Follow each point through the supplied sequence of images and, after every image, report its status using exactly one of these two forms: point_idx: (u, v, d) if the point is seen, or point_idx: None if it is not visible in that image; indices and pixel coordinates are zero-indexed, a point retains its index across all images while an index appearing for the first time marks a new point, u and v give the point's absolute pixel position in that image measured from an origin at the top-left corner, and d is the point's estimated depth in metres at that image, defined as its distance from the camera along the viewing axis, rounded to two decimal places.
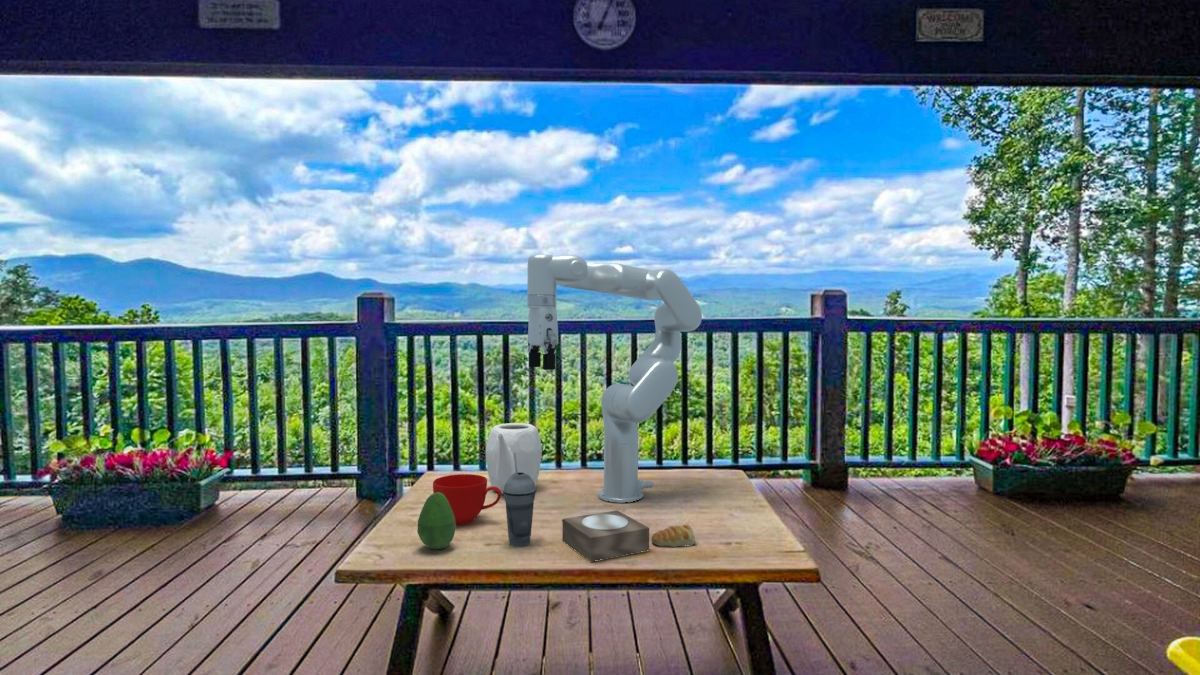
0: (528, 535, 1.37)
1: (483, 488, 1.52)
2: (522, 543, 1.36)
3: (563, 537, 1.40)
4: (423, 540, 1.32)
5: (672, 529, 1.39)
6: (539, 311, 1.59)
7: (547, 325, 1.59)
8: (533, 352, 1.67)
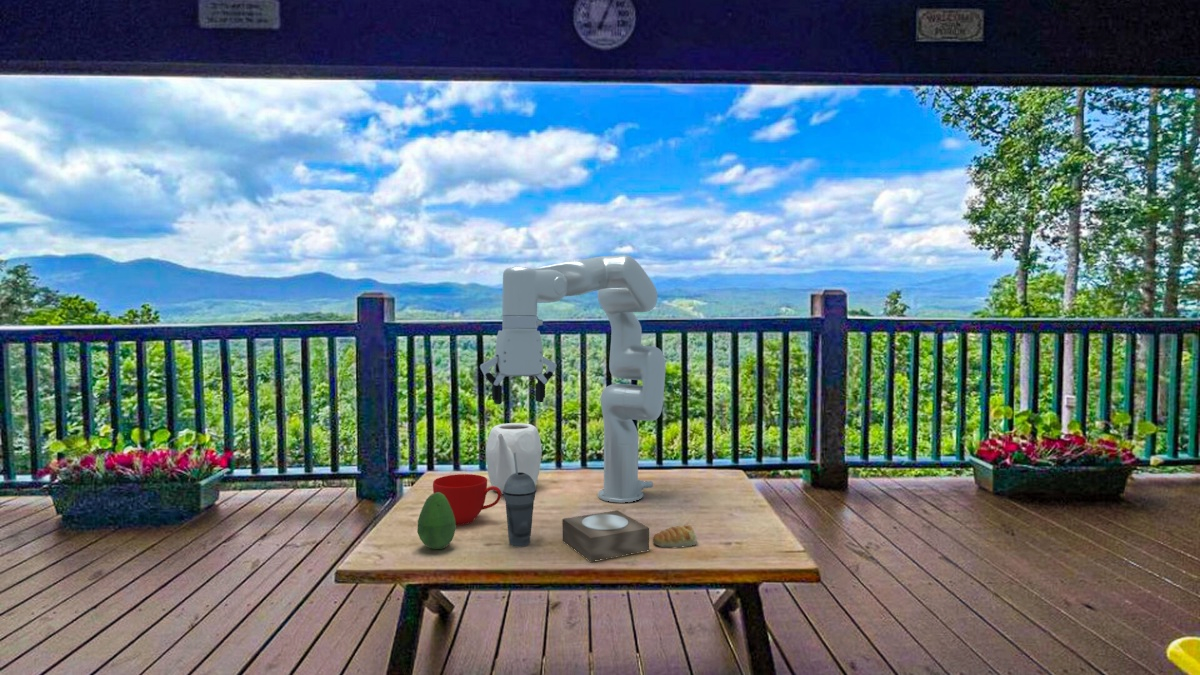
0: (528, 535, 1.37)
1: (483, 488, 1.52)
2: (522, 543, 1.36)
3: (563, 537, 1.40)
4: (423, 540, 1.32)
5: (673, 530, 1.38)
6: (537, 335, 1.37)
7: None
8: (499, 385, 1.35)
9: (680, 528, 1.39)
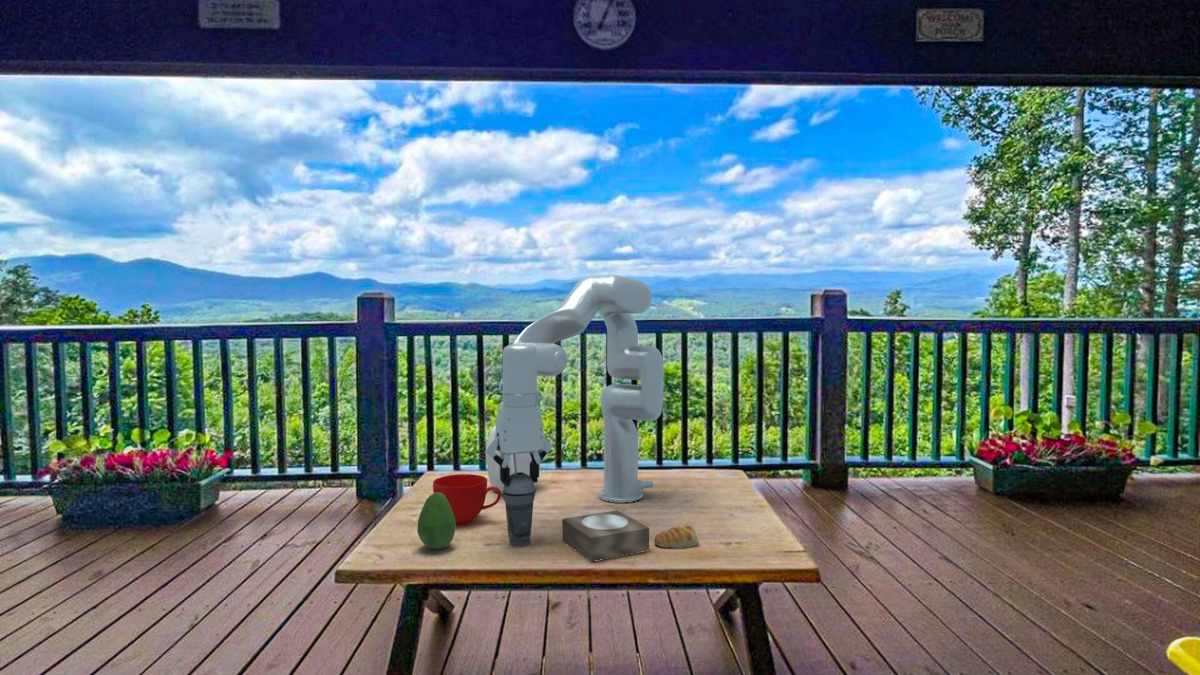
0: (528, 535, 1.37)
1: (483, 488, 1.52)
2: (522, 543, 1.36)
3: (563, 537, 1.40)
4: (423, 540, 1.32)
5: (675, 530, 1.38)
6: (538, 412, 1.38)
7: None
8: (507, 466, 1.36)
9: (681, 528, 1.39)
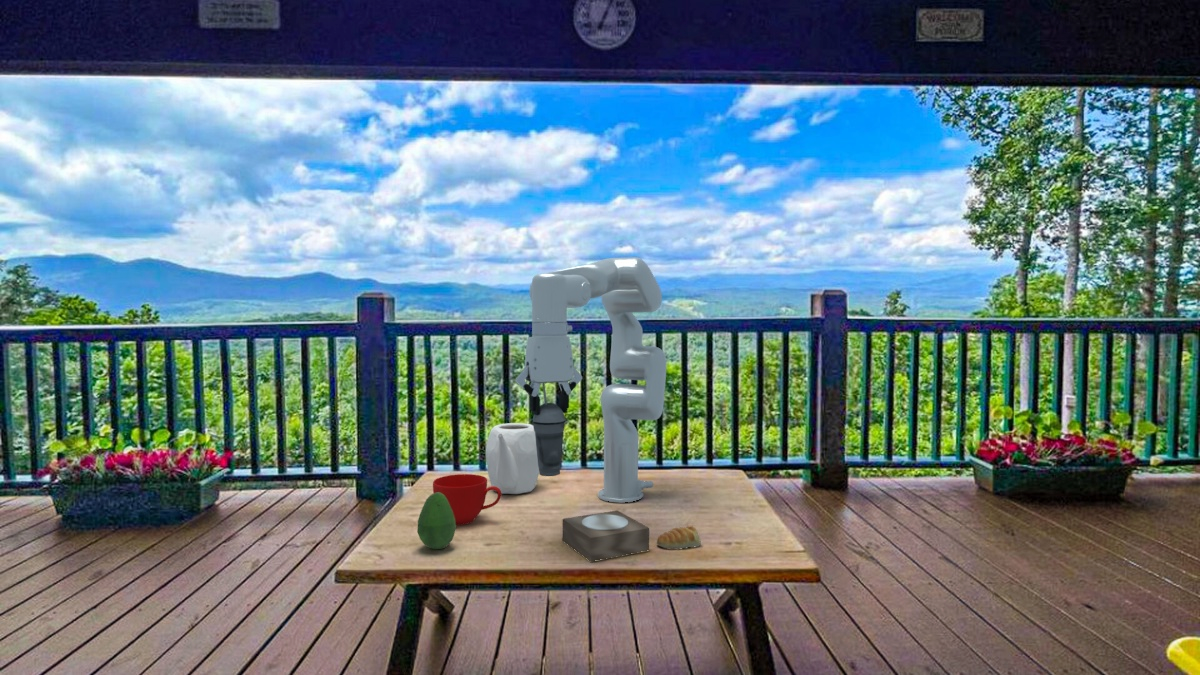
0: (558, 465, 1.37)
1: (483, 488, 1.52)
2: (552, 473, 1.36)
3: (563, 537, 1.40)
4: (423, 540, 1.32)
5: (677, 531, 1.38)
6: (567, 341, 1.37)
7: None
8: None
9: (684, 529, 1.38)
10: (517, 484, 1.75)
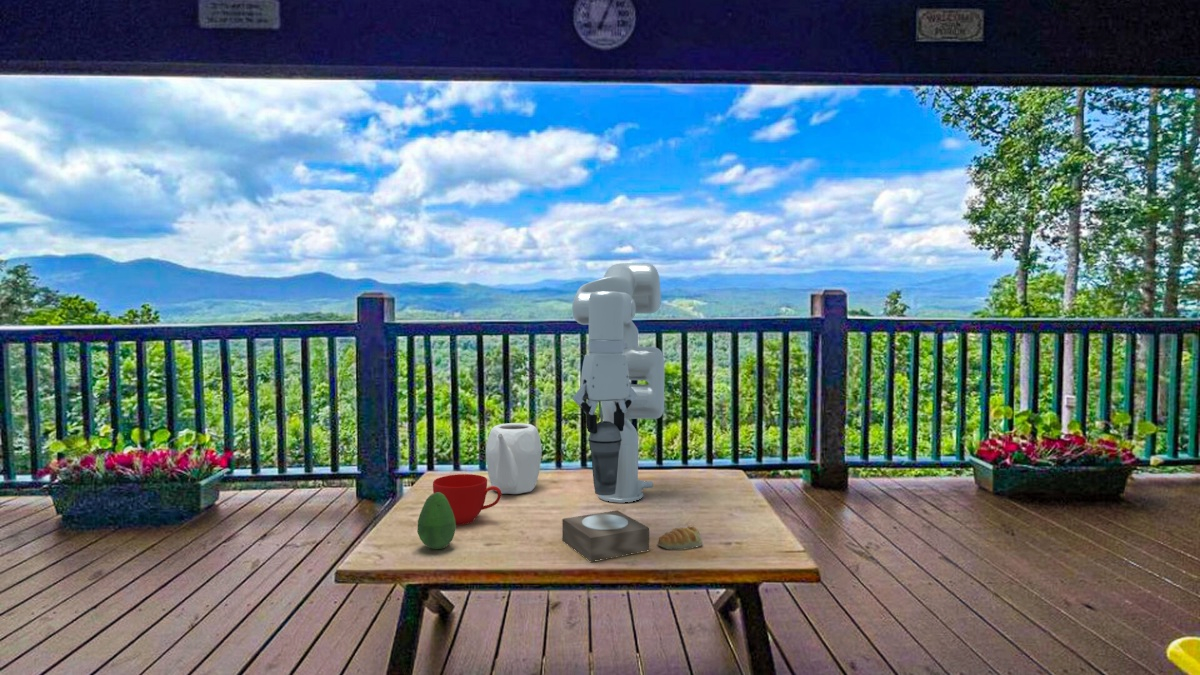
0: (614, 484, 1.35)
1: (483, 488, 1.52)
2: (609, 492, 1.35)
3: (563, 537, 1.40)
4: (423, 540, 1.32)
5: (679, 531, 1.37)
6: (624, 359, 1.36)
7: None
8: None
9: (685, 529, 1.38)
10: (517, 484, 1.75)
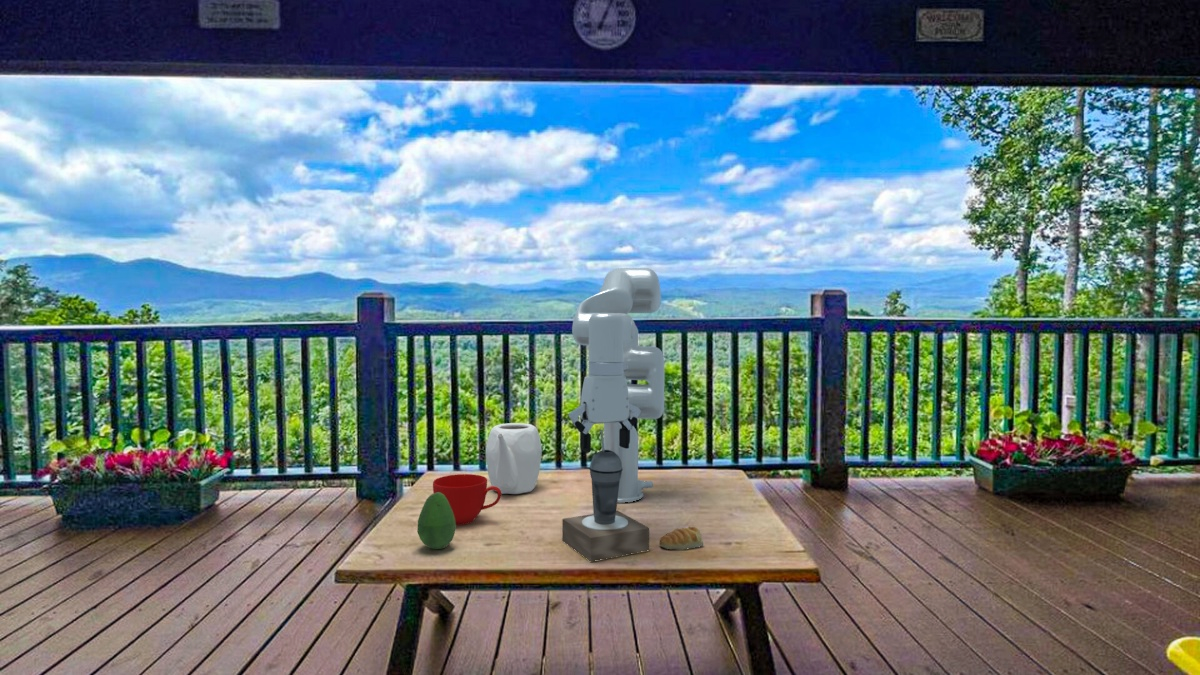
0: (614, 513, 1.36)
1: (483, 488, 1.52)
2: (608, 521, 1.35)
3: (563, 537, 1.40)
4: (423, 540, 1.32)
5: (680, 532, 1.37)
6: (624, 381, 1.36)
7: None
8: None
9: (686, 530, 1.38)
10: (517, 484, 1.75)
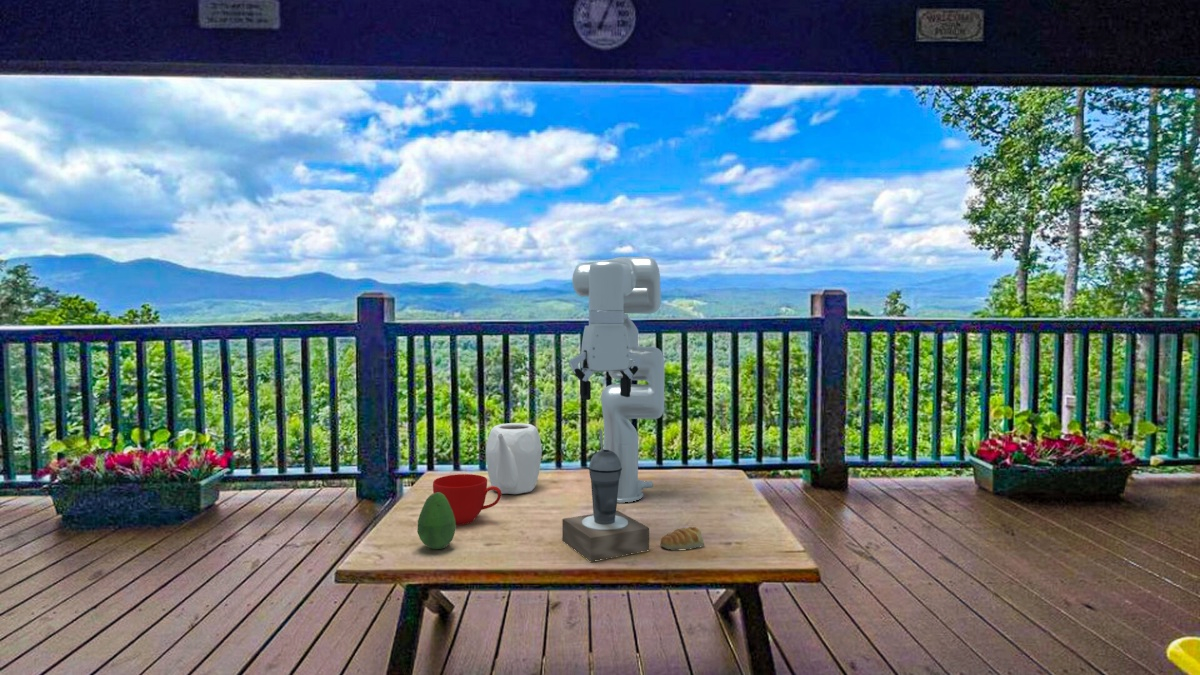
0: (614, 513, 1.36)
1: (483, 488, 1.52)
2: (608, 521, 1.35)
3: (563, 537, 1.40)
4: (423, 540, 1.32)
5: (681, 532, 1.37)
6: (624, 330, 1.36)
7: None
8: None
9: (687, 530, 1.38)
10: (517, 484, 1.75)
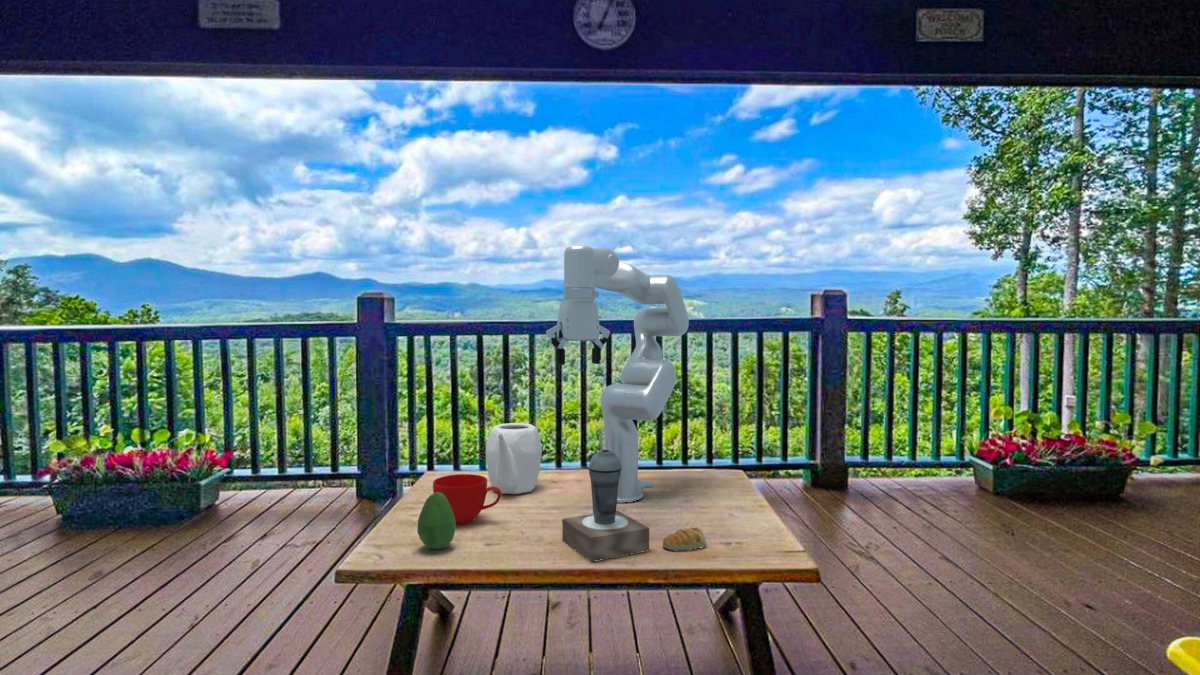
0: (614, 513, 1.36)
1: (483, 488, 1.52)
2: (608, 521, 1.35)
3: (563, 537, 1.40)
4: (423, 540, 1.32)
5: (683, 532, 1.37)
6: (595, 305, 1.57)
7: None
8: None
9: (689, 530, 1.37)
10: (517, 484, 1.75)
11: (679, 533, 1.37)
